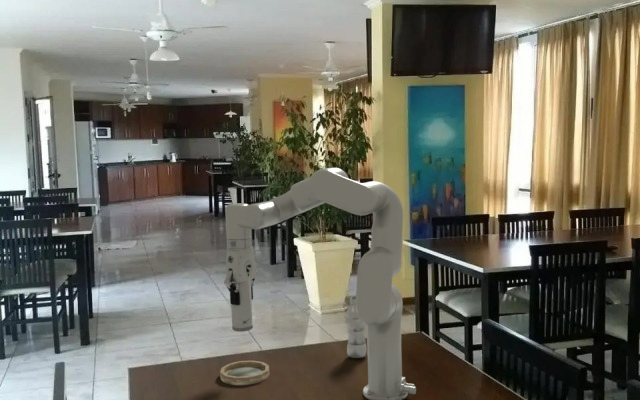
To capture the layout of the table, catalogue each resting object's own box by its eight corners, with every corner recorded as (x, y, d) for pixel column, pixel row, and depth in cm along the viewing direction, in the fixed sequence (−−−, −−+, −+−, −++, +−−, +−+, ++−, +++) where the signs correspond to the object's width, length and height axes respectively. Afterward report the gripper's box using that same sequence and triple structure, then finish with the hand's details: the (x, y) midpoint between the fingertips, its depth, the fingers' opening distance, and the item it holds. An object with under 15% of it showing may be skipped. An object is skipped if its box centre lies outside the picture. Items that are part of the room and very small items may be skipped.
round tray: (278, 371, 195) (278, 364, 195) (251, 388, 182) (251, 380, 181) (239, 365, 202) (238, 358, 202) (210, 380, 188) (210, 373, 188)
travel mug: (250, 332, 187) (247, 266, 185) (229, 331, 188) (226, 266, 186) (256, 326, 193) (253, 262, 191) (236, 325, 194) (233, 262, 192)
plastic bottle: (343, 356, 207) (341, 297, 205) (361, 352, 210) (359, 294, 208) (352, 361, 201) (350, 301, 200) (370, 358, 204) (369, 298, 202)
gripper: (232, 249, 179) (235, 310, 180) (265, 240, 194) (267, 296, 196) (211, 247, 182) (214, 307, 184) (245, 239, 198) (247, 294, 199)
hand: (241, 301), depth 190 cm, fingers closed on travel mug, 6 cm apart
